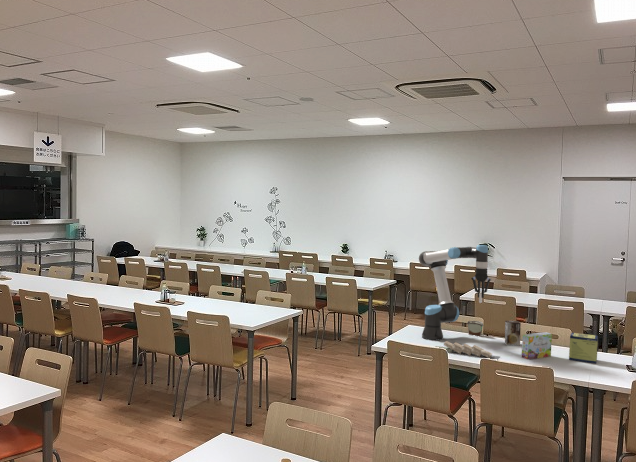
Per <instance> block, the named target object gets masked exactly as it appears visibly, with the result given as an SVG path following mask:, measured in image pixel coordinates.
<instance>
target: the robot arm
mask: <svg viewBox="0 0 636 462" xmlns="http://www.w3.org/2000/svg"><path fill="white" fill-rule="evenodd" d="M488 258H489V246H488V245H486V244H477V245H476V247H473V246H465V247H464V246H460V247H456V246H453V247H450V248H446V249H441V250H425V251H423V252H421V253H420V254H419V257H418V262H419V264H420V265H422V266H423V267H426V268H427V267H429V268H430V270H431V271H432V272H433V276H434V281H435V286H436V292H437V296H438V300H439V303H438V304H429V305H426V307H425V309H424V327H423V330H422V333H421V338H422V339H424V340H427V341H428V340H430V341H441V340H443V339H444V334H443V331H442V324H443V323H454V322H456V321H457V320H458V319H459V317H460V309H459V307H458V306H457V305H455V302H454V301H452V297H451V293H450V288H449V283H448V278H447V275H446V274H447V273H446V268H447V265H448V262H449V260H455V259H475V267H476V268H475V275H474V276H473V277H471V280H472V283H473V289H474V292H476V293H477V298H478V303H479V304H481V303H483V298H484V297H485V293H487V292H488V290H489V289H488V288H489V285H490V282H491V281H492V278H490V277H489V275H488V265H489V264H488V260H489V259H488ZM476 281H477V282H476ZM485 283H486V285H485Z"/></svg>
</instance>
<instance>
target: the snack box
mask: <svg viewBox="0 0 636 462" xmlns="http://www.w3.org/2000/svg"><path fill="white" fill-rule="evenodd" d="M552 340H553V334H552V333H550V332H546V331H545V332H544V331H543V332H537V333H536V332H535V333H527V334H522V343H521V358H522V359H525V360H534V359H542V358H549V357H550V358H551V357H552V342H553V341H552Z"/></svg>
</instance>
